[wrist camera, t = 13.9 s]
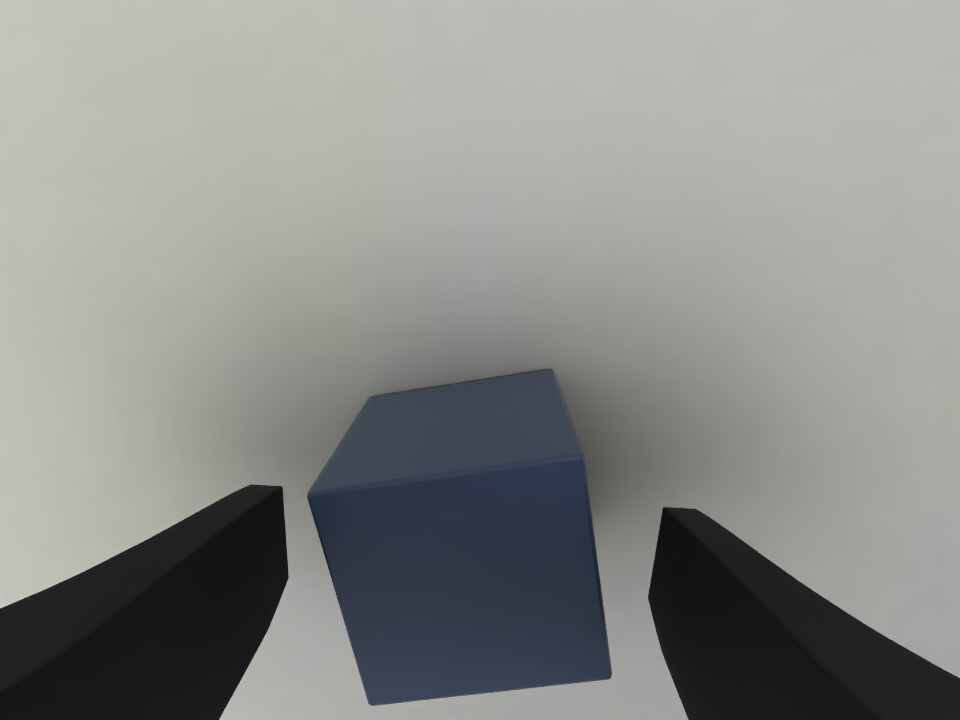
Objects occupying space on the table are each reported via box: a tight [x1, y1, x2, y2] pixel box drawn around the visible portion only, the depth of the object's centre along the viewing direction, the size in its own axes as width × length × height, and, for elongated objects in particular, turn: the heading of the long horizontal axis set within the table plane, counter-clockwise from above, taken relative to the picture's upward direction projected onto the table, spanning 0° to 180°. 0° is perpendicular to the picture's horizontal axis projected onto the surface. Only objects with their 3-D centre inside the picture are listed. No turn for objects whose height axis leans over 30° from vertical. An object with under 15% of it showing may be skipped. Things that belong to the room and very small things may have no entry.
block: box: [307, 369, 612, 706], centre depth 11 cm, size 4×4×4 cm
